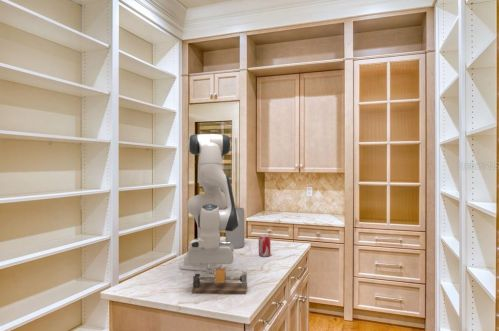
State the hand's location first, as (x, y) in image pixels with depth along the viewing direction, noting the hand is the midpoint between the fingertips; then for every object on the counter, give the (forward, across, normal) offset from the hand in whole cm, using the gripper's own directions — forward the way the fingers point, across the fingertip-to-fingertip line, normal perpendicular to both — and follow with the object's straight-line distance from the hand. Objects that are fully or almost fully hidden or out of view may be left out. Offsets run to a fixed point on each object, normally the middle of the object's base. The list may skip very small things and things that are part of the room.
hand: (210, 273), depth 144 cm
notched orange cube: (+3, -4, 0) cm, 5 cm away
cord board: (+7, -4, 0) cm, 8 cm away
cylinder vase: (+7, -2, -74) cm, 74 cm away
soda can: (+7, -22, -53) cm, 58 cm away
